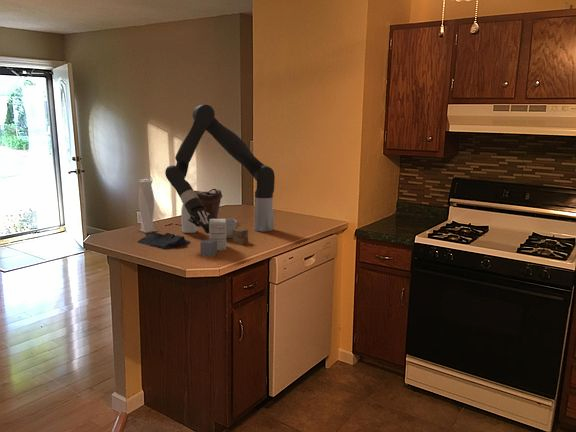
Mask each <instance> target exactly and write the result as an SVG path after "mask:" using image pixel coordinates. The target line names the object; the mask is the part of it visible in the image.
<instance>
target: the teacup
mask: <svg viewBox="0 0 576 432" xmlns="http://www.w3.org/2000/svg"><path fill="white" fill-rule="evenodd" d="M223 219H226V239H230V238H233V230H235V229H238V228H237V225H238V224H237V222H238V220H236V219H234V218H223Z"/></svg>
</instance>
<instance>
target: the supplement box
mask: <svg viewBox="0 0 576 432" xmlns="http://www.w3.org/2000/svg"><path fill="white" fill-rule="evenodd" d="M208 234H209V237H208V238H209V240H216V241H217V251H225V250H227V238H226V219H224V218H217V219H210V221H209V233H208Z"/></svg>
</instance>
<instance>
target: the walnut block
mask: <svg viewBox="0 0 576 432" xmlns="http://www.w3.org/2000/svg"><path fill="white" fill-rule="evenodd" d="M232 243H235V244H237V245H242V244H247V243H249V229H246V228H242V227H240V228H237V229H235V230H233V237H232Z"/></svg>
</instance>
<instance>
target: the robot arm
mask: <svg viewBox="0 0 576 432" xmlns="http://www.w3.org/2000/svg"><path fill="white" fill-rule="evenodd" d="M215 115H216V114H215V110H214V108H213V107H212V106H211V105H209V104H206V103H205V104H200V105H198V106H195V107H194V108H193V111H192V118H193V122H192V126H191V127H190V130H189V131H188V133H187V135H186V136H185V138H184V140H183V141H182V142H181V144H180V146H179V148H178V150H177V152H176V154H175V158H174V159H175V161H176V164H175V165H169V166H167V167H166V169H165V172H164V173H165V177H166V179H167V180H168V182H169V183H170V185H171V186H172V187H173V188H174V190H175V191H176V193H177V195H178V197H179V198H180V201H181V202H182V205H183V204H184V206H185V208H186V210H187V211H188V213H189V214H190V218H189V219H188V220H189V221H190V222H192V223H193V224H195V225H196V226H197V228H199V227H201V228H202V229H203V231H204V233H206V234H209V221H210V219H211V217H212V213H207V212H206V210H204V208H203V204H202V203H201V201H200V199H199V198H198V196H197V194H196V193H195V192H194V191H195V190H194V189H193V187H192V185H191V184H190V183H189V181H187V180H186V176H187V174H188V170H189V166H190V162H191V160H192V158H193V156H194V154H195V151H196V149H197V147H198V146H199V144H200V141H201V139H202V137H203V135H204V133H206V132H207V133H209V134H210V135H211V136H212V138H213V139H214V140H216V142H217V143H218V144H219V145H220V146H221V147H222V148H223V149H224V151H226V152H227V153H228V155H230V156H231V157H232V158H233V159H234V160H235V161H237V162H238V163H239V164H241V165H242V166H243V167H244V168H245V169H246V170H247V171H248V173H250V175H251V176H252V178H253V179H254V180H255V181H256V188H255V189H256V190H255V192H254V231H257V232H271V231H273V230H274V228H275V227H274V225H275V223H274V222H275V220H274V219H275V216H274V215H275V211H274V210H273V208H274V207H273V205H274V202H273V199H274V192H275V181H276V179H275V175H276V174H275V171H274V169H272V167H270V166H268V165H266V164H264V163H262V162H261V161H260V160H259V159H258V158H257V157H256V156H255V155H254V154H253V152H252V151H251V150H250V148H249V146H248V145H247V144H246V143H245V142H244V141H243V140H242V138H241V137H240V136H239V135H237V134H236V133H235V132H234V131H232V130H231V129H230V128H227V127H225V125H223V124H222V123H220V121H218V119H217V118H216V117H215ZM196 222H197V223H196Z"/></svg>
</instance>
